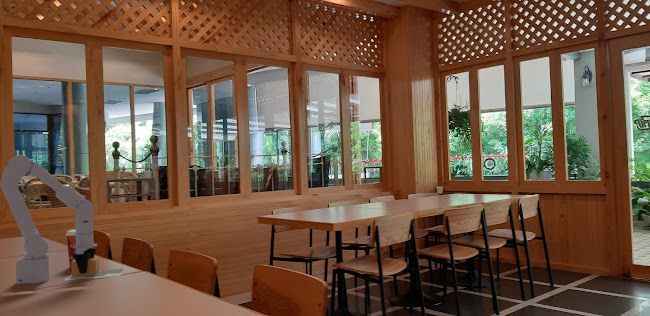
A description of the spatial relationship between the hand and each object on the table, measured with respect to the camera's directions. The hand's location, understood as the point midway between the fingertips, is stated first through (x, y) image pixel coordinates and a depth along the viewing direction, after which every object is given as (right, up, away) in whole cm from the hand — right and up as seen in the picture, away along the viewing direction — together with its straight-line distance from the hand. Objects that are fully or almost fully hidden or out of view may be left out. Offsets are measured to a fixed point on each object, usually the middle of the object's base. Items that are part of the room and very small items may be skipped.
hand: (85, 270), depth 183 cm
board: (+5, -2, -2) cm, 5 cm away
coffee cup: (-9, -3, +13) cm, 16 cm away
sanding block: (0, -1, 0) cm, 1 cm away
